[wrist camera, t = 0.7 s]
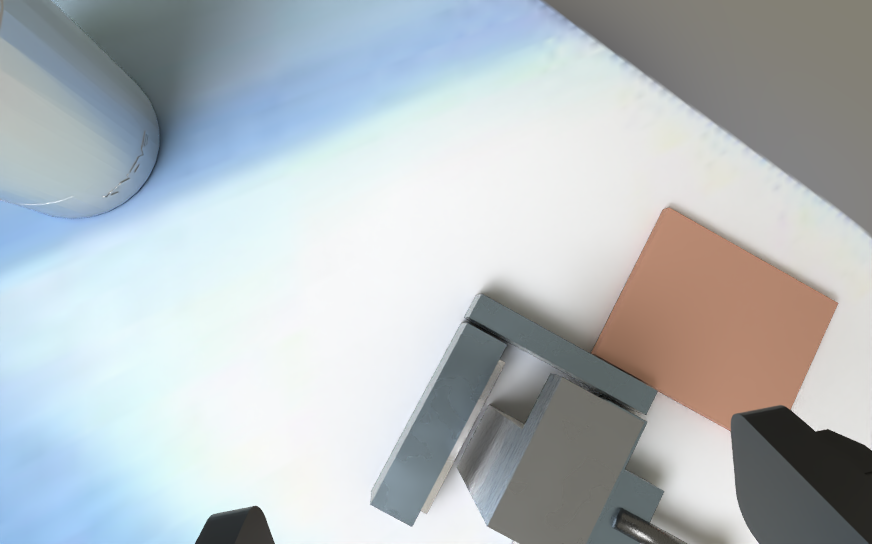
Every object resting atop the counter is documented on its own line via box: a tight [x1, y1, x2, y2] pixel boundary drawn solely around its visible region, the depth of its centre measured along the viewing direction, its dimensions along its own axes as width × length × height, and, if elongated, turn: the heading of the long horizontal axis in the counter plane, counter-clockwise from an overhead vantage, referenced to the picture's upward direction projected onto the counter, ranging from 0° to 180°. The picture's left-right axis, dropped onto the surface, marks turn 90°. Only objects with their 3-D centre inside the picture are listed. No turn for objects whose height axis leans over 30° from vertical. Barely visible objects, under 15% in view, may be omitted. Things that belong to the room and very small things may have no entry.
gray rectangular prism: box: [457, 374, 644, 544], centre depth 29 cm, size 4×7×10 cm, turn 151°
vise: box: [370, 294, 688, 544], centre depth 33 cm, size 20×13×3 cm, turn 62°
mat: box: [591, 208, 838, 431], centre depth 36 cm, size 12×10×1 cm
